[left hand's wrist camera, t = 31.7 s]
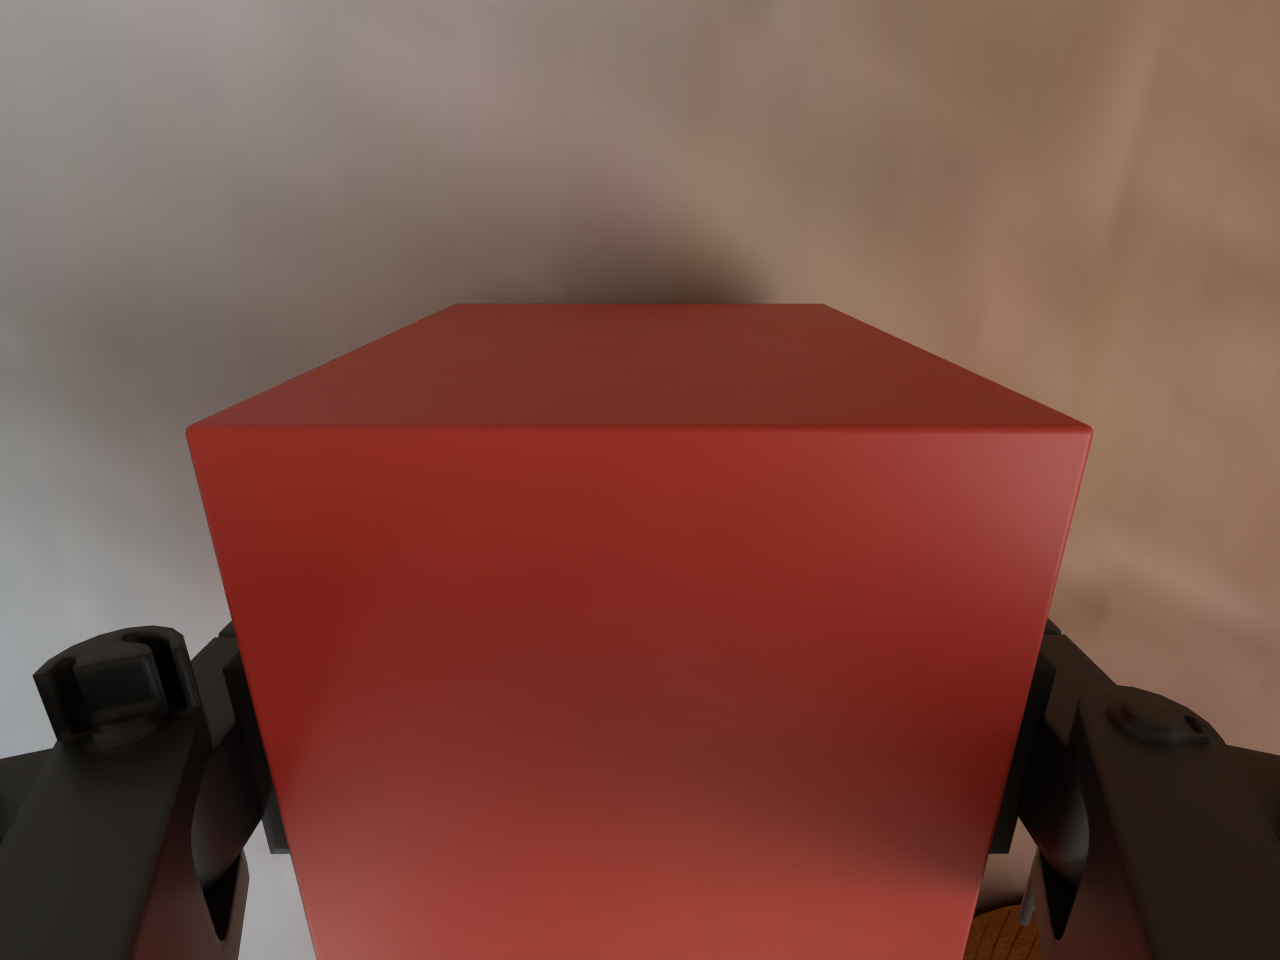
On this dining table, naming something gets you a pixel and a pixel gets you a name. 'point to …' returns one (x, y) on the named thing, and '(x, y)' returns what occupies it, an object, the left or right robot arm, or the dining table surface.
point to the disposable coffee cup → (1003, 937)
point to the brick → (639, 630)
